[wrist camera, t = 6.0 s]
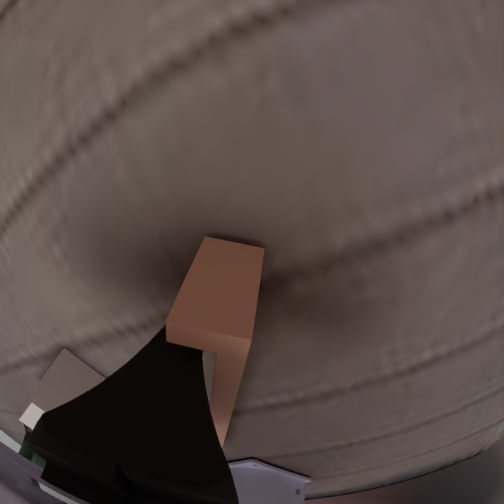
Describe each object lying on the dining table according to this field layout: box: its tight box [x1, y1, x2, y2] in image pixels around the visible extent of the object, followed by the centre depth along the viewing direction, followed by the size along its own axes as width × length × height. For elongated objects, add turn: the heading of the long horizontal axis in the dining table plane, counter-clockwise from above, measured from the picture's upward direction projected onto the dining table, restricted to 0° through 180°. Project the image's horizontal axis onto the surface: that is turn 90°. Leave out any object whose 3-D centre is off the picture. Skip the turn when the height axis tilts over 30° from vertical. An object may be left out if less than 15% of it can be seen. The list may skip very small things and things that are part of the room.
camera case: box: [19, 347, 106, 430], centre depth 19 cm, size 12×10×6 cm
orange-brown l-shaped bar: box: [166, 237, 265, 447], centre depth 14 cm, size 19×2×4 cm, turn 170°
